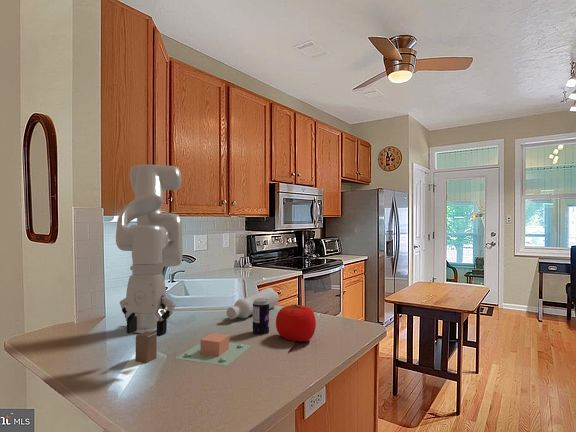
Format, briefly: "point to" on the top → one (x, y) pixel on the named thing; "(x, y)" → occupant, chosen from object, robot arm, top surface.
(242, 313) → the bottle
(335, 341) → the top surface
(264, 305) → the beverage can
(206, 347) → the brick
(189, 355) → the baseplate
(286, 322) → the tomato
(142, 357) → the wooden block
